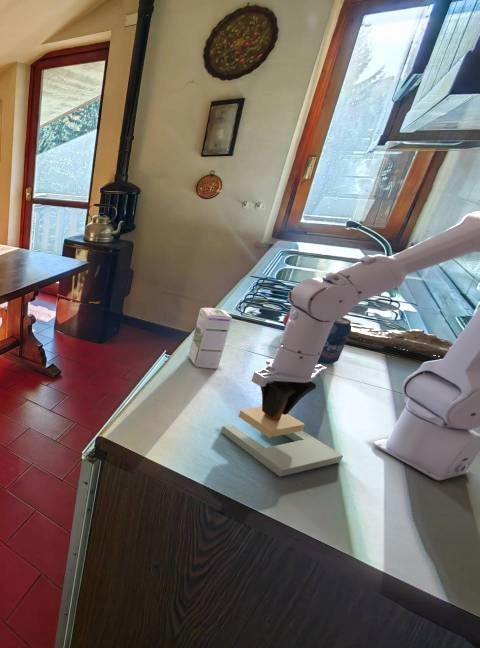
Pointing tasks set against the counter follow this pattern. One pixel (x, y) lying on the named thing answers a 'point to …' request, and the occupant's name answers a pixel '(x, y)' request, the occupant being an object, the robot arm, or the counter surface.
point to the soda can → (335, 341)
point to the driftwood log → (403, 340)
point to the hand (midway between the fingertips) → (274, 412)
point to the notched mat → (286, 452)
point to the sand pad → (271, 421)
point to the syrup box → (209, 337)
